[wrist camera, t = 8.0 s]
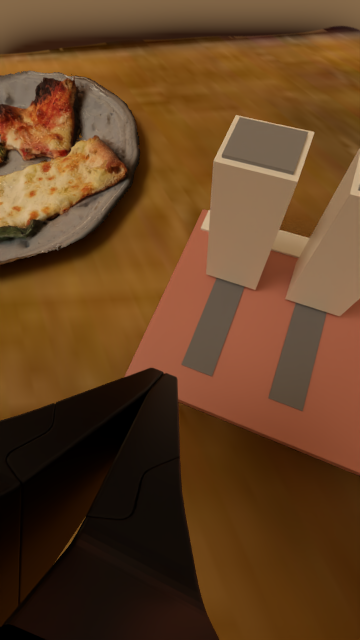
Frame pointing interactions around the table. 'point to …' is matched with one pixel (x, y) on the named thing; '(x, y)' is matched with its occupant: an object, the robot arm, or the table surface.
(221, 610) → the table surface
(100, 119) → the food plate
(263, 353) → the switch bank
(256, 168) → the cream tall block
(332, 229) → the tab
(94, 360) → the table surface
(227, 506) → the table surface
